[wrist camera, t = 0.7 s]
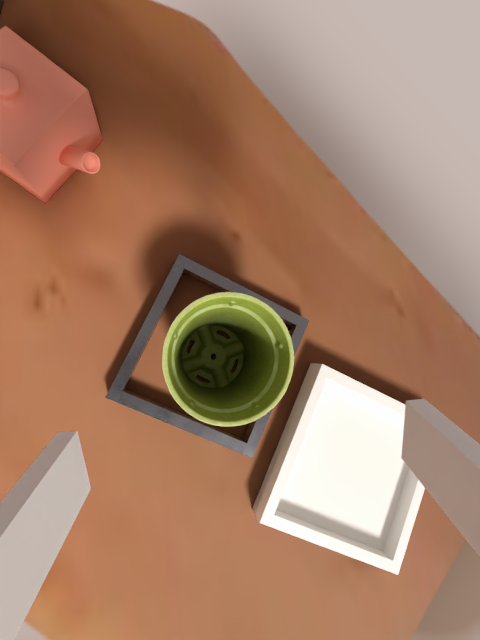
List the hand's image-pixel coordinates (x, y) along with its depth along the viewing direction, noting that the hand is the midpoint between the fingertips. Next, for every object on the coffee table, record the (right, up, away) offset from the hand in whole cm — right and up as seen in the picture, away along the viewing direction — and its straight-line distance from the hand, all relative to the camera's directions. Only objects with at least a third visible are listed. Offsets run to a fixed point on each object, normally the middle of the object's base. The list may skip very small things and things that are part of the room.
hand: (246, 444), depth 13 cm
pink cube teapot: (-17, +20, +16) cm, 31 cm away
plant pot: (-3, +2, +18) cm, 18 cm away
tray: (+11, -9, +20) cm, 24 cm away
